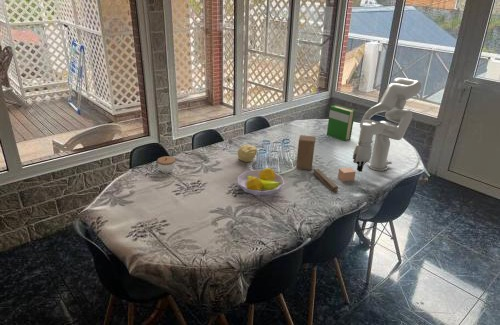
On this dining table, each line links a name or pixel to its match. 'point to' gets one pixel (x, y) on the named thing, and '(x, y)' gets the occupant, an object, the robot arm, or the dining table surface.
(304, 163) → the wooden block
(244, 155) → the pale yellow lumpy ball
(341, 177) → the block
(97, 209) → the dining table surface
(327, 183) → the brown wooden bar
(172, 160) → the lidded jar
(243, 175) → the fruit bowl
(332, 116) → the hardback book
